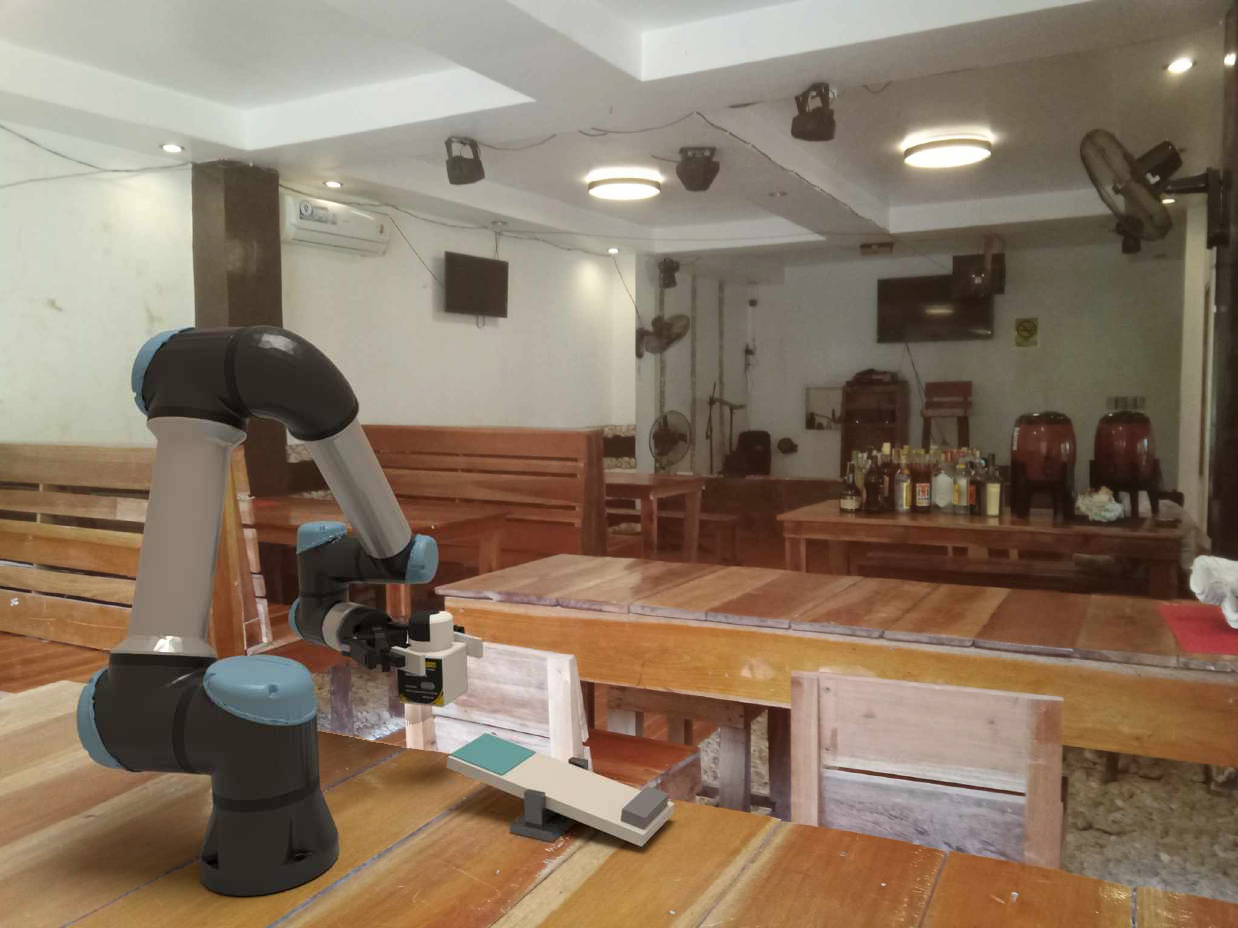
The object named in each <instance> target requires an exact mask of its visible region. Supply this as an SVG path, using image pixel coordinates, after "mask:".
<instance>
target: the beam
mask: <svg viewBox="0 0 1238 928" xmlns="http://www.w3.org/2000/svg"><path fill="white" fill-rule="evenodd" d="M446 769H449V770H452V771H454V772H456V773H459V774H462V775H464V776H465V777H469V778H471V779H473V780H475V781H476V780H477V781H478V782H481V783H484V784H486V785H489V786H490V787H494V788H496V789H498V790H500V791H503V792H506V793H509V794H511V795H514V796H515V797H519V798H521V799H522V800H524V792H525V791H526V790H528V789H531V790H536V791H541V792H545V797H546V808H547V809H550V810H552V811H555V812H557V813H560V814H562V815H565V816H567V817H570V818H572V819H574V820H577V822H579V823H582V824H584V825H587V826H588V827H589V826H590V827H592V828H595V829H597V830H599V831H602V832H605V833H607V834H609V835H612V836H615V837H617V838H619V839H621V840H623V841H624V840H625V841H627V842H629V843H632V844H634V845H637V846H639V847H643V846H644V845H645V844H646V843H647V842H648V841H649V840H650V838H652V837H653V836H654V835H655V833H656V832H657V831H658V830H660V828H662V826H664V824H665V823H666V822H667V821H668V820H669V819H670V818H672V816H673V815H674V807H675V803H674V802H672V801H669V797H670V793H668V792H666V791H662V790H661V789H660V790H659V789H658V788H656V787H655V788H654V787H653V786H652V787H651V786H649V785H646V786H645V787H644V788H643V789H642V790H641V789H638V788H635V787H632V786H630V785H627V784H624V783H622V782H619V781H616V780H614V779H610V778H609V777H606V776H603V775H601V774H597V773H596V772H593V771H590V770H589V769H588V770H585V769H582V768H580V767H577V766H574V765H572V764H569V763H568V762H566V761H563V760H561V759H559V758H555V757H552V756H550V755H547V754H546V753H542V752H539V751H537V750H534V749H531V748H529V747H527V746H524V745H521V744H519V743H516V742H513V741H510V740H508V739H505V738H503V737H500V736H497V735H495V734H492V733H489V732H485V733H483V734H482V735H480V736H478V737H476V738H474V739H473V740H472V741H470V742H467V744H465V745H463V746H461V747H460V748H458V749H457V750H455V751H453V752H452V753H450V755H449V756H447V762H446Z"/></svg>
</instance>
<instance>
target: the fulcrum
mask: <svg viewBox="0 0 1238 928" xmlns="http://www.w3.org/2000/svg"><path fill="white" fill-rule="evenodd" d="M567 761H568V762H567V763H569V764H572V765H574V766H577V767H580V768H582V769H585V770H588V771H589V759H585V758H580V757H576V756H571V757H570V758H568V760H567ZM523 801H524V812H522V813H521V814H520V815H519V816H517V817H516V818H515V819H514V820H512V821H511V822H509V828H510V829H509V832H510V834H514V835H519V836H522V837H527V838H531V839H536V840H539V841H544V842H550V843H554V842H555V841H556V840H558V839H559V838H560V837H561V836H562V835H564V833H565V832H567V831H568V830H569V829H571V827H572V826H574V825H575V824H576V823H577V822H578V821H577V820H574V819H572V818H570V817H567V816H565V815H562V814H560V813H557V812H555V811H552V810H550V809H547V808H546V797H545V792H541V791H536V790H531V789H528V790H526V791H525V792H524V799H523Z"/></svg>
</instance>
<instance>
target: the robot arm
mask: <svg viewBox="0 0 1238 928" xmlns="http://www.w3.org/2000/svg"><path fill="white" fill-rule="evenodd" d="M130 384H131V385H130V386H131V391H132V392H133V393H135V396H134V397H133V400H134V402H135V404H136V406H137V408H138V409H139V411H140V412H141V413H142V414H143V415H144V416H145V417H147V419H146V423H145V424H146V428H147V429H148V430H149V431H150V433H152V435H153V436H154V437H155V439H156V441H157V442H156V447H155V448H156V449H155V455H154V461H153V469H152V474H151V481H150V488H149V494H148V501H147V505H146V506H147V508H146V512H145V513H146V514H145V519H144V527H143V533H142V539H141V546H140V554H139V560H138V566H137V571H136V573H137V574H136V579H135V585H134V591H133V597H132V606H131V611H130V618H129V625H128V630H127V636H126V637H125V638H124V640H122V641H121V642H120V643H118V644H117V645H115V646H114V647H113V648H112V649H110V653H109V660H108V666H106V667H104V668H102V669H100V670H98V671H96V672H94V674H92V675H91V677H90V678H89V679H88V684H85V685H84V687H83V688H82V690H81V692H80V695H79V697H78V702H77V707H76V730H77V734H78V738H79V741H80V743H81V745H82V747H83V749H84V750H85V751H86V752H87V753H88V755H89V757H90V759H91V760H93V761H94V762H95V763H96V764H98V765H100V766H103V767H104V768H109V769H115V770H121V771H122V770H123V771H126V772H128V773H134V774H137V773H143V772H147V773H148V772H150V773H154V772H155V773H168V774H183V775H184V774H187V775H199V776H200V775H203V776H210V783H211V795H212V808H211V812H210V816H209V820H208V823H207V828H206V830H205V835H204V838H203V842H202V844H201V848H200V852H199V858H198V860H199V861H198V863H199V876H200V881H201V882H202V884H203V885H204V887H206V888H208V889H209V890H211V891H213V892H215V893H218V894H222V895H228V896H237V897H242V896H243V897H247V896H258V895H259V896H260V895H267V894H272V893H277V892H282V891H286V890H288V889H291V888H294V887H297V886H300V885H302V884H305V883H307V882H309V881H311V880H313V879H315V878H317V877H318V876H320V875H321V874H323V873H324V872H326V871H327V870H328V869H329V868H331V866H332V865H333V864H334V863H335V861H337V859H338V856H339V853H340V839H339V830H338V827H337V825H336V823H335V820H334V817H333V815H332V812H331V811H330V808H329V806H328V804H327V801H326V799H325V796H324V794H323V791H322V789H321V780H320V756H319V754H320V753H319V751H320V750H319V733H318V732H319V731H318V729H319V728H318V709H319V704H318V699H317V695H316V689H315V682H314V678H313V675H312V673H311V671H310V670H309V669H308V668H307V667H306V666H305V665H304V664H302V663H301V662H298V661H297V660H295V659H292V658H288V657H283V656H279V655H272V654H253V655H242V654H241V655H236V656H235V655H234V656H230V657H226V658H223V659H220V660H218V653H216V651H215V650H214V649H213V648H212V647H211V646H210V644H209V643H208V641H207V638H208V631H209V630H208V629H209V624H210V623H209V622H210V613H211V607H212V599H213V594H214V593H213V591H214V587H215V586H214V584H215V578H216V571H217V563H218V556H219V549H220V542H221V541H220V540H221V533H222V526H223V519H224V518H223V517H224V511H225V504H226V497H227V496H226V495H227V489H228V481H229V480H228V479H229V475H230V465H231V458H232V451H233V450H234V449H235V448H236V447H238V446H240V445H241V443H243V442H245V441H246V440H247V436H248V428H249V423H250V422H249V421H250V420H255V419H256V420H258V419H260V420H261V419H262V420H264V419H271V420H275V421H278V422H280V423H281V424H283V425H284V426H285V427H286V429H287V431H288V434H290V437H292V438H293V439H295V440H297V441H299V442H302V443H304V445H305V446H306V448H307V451H308V452H309V453H310V455H311V457H312V459H313V461H314V463H315V464H316V466H317V468H318V470H319V472H320V474H321V475H322V477H323V478H324V480H325V482H326V484H327V487H328V488H329V489H330V491H331V493H332V495H333V497H334V498H335V500H336V503H338V505H339V507H340V509H341V510H342V513H343V514H344V515H343V516H345V518H346V520H347V522H348V523H349V525H350V527H351V528H352V531H353V532H354V534H348V530H347V525H346V524H345V523H344V522H343V521H336V520H320V521H319V520H318V521H312V522H307V523H304V524H301V526H299V527H298V528H297V533H296V552H295V554H296V555H297V557H296V558H297V559H296V560H297V569H298V571H297V573H298V588H299V590H298V598H297V599H296V600H295V601H294V602H293V603H292V605H291V607H290V610H289V612H288V617H287V620H288V626H289V627H290V630H291V631H292V632H293V634H294V635H295V636H297V637H298V638H300V639H303V640H304V641H306V642H307V643H310V644H315V645H318V646H323V647H325V648H327V647H328V648H329V649H333V650H337V651H339V652H341V656H343V657H348V658H351V659H352V660H354V661H355V662H356V663H358V664H360V665H361V666H362V667H364V668H366V670H374V669H377V665H378V666H379V665H380V666H381V667H380V668H381V673H389V672H392V671H391V667H392V668H394V669H401V670H404V671H407V672H410V673H413V674H417V675H420V676H422V675H426V672H425V654H421V653H418V652H414V651H411V650H407V649H406V648H408V647H410V646H412V645H410V643H409V623H400V622H399V621H393V618H392V617H391V616H390V615H389V614H388V613H387V612H386V611H385V610H383V609H379V608H375V607H371V606H368V605H365V604H360V603H356V602H352V601H350V593H349V591H350V584H377V585H379V584H382V585H405V586H409V585H413V584H414V585H418V584H419V585H421V584H428V583H430V582H431V581H432V580H433V579H434V578H435V575H436V574H437V571H438V565H439V549H438V545H437V541H436V540H435V539H434V538H433V537H431V536H430V535H423V534H421V533H418V534H414V533H413V531H412V528H411V527H410V525H409V523H408V520H407V519H406V517H405V515H404V512H403V510H402V508H401V506H400V504H399V502H398V500H397V498H396V495H395V494H394V492H393V489H392V487H391V485H390V483H389V481H388V479H387V477H386V475H385V472H384V471H383V468H382V466H381V465H380V462H379V460H378V458H377V456H376V454H375V452H374V450H373V448H372V446H371V444H370V441H369V439H368V437H367V436H366V433H365V431H364V429H363V427H362V425H361V422H360V419H358V418H359V417H358V416H359V414H360V403H359V401H358V399H357V396H356V394H355V392H354V390H353V388H352V386H351V384H350V382H349V381H348V379H346V377H345V376H344V374H343V372H342V371H341V370H340V369H339V368H338V366H336V364H335V363H334V361H332V360H331V359H330V358H329V357H328V356H327V355H326V354H325V353H324V352H323V351H322V350H320V349H319V348H318V347H317V346H316V345H314V344H313V343H311V342H310V341H308V340H307V339H306V338H304V337H302V336H301V335H299V334H297V333H295V332H293V331H291V330H289V329H286V328H282V327H277V326H274V325H267V324H266V325H263V324H262V325H261V324H260V325H258V324H257V325H252V326H230V327H229V326H226V327H224V326H223V327H197V326H188V327H187V326H186V327H184V328H183V327H182V328H179V329H169V330H165V331H162V332H161V331H160V332H159V333H157V334H155V335H154V336H152V337H149V339H148V340H147V341H146V342H144V344H143V345H142V346H141V348H140V349H139V351H138V353H137V355H136V357H135V359H134V361H133V365H132V369H131V378H130ZM465 630H466V628H465V626H461V625H457V624H453V634H454V641H453V642H460V643H465V644H466V647H467V657H471V658H475V659H479V660H480V659H482V658H484V648H483V647H484V645H483V643H484V641H483V638H482V637H477V636H474V635H470V634H467V633H466V631H465Z"/></svg>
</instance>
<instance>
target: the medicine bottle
mask: <svg viewBox="0 0 1238 928" xmlns="http://www.w3.org/2000/svg"><path fill="white" fill-rule="evenodd" d="M408 624H409V643H410V645H412V646H410V647H408V648H406V649H407V650H411V651H414V652H418V653H421V654H425V672H426V675H422V676H420V675H417V674H413V673H410V672H407V671H404V670H401V669H397V668H396V669H397V670H396V671H397V672H396V673H397V689H398V690H397V695H398V703H400V704H407V705H416V706H417V705H418V706H426V707H436V708H444V707H446V706H447V705H449V704H451V703H452V702H454V701H455V700H457V699H458V698H460V697H462V696H463V695H465V694H467V692H469V680H468V679H469V677H468V656H467V647H466V644H465V643H460V642H453V641H454V634H453V625H454V616H453V615H452V613H451V612H448V611H445V610H442V609H441V610H440V609H429V610H423V611H418V612H416V613H413V614H412V615H410V617H409V618H408Z"/></svg>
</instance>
